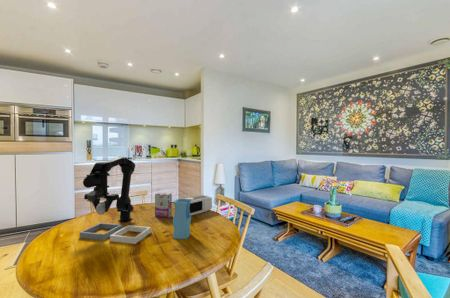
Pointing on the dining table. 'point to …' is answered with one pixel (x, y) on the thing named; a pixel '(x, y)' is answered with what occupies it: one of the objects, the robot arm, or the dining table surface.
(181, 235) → the vase
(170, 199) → the candy bar box
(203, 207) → the alarm clock
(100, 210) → the grey rounded lumpy piece
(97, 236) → the grey square frame
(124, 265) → the dining table surface
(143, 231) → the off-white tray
